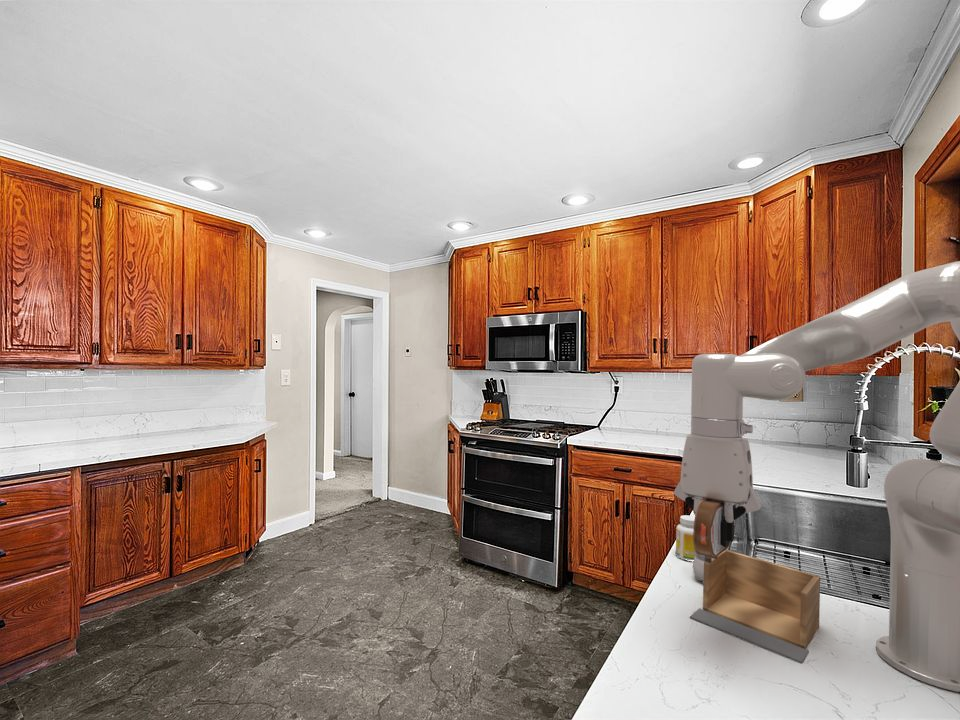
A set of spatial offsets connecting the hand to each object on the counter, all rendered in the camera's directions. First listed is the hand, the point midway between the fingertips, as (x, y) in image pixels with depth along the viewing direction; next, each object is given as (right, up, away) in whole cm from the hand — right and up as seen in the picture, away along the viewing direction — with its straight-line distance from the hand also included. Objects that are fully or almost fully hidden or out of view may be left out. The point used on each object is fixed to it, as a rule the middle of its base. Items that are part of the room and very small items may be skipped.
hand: (714, 540), depth 76 cm
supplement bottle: (+11, -18, +35) cm, 41 cm away
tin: (0, -2, -1) cm, 2 cm away
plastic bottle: (+11, -18, +23) cm, 31 cm away
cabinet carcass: (+12, -17, +8) cm, 23 cm away
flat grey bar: (+7, -17, +3) cm, 19 cm away
